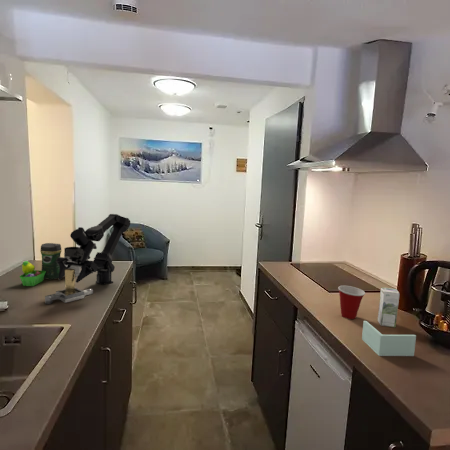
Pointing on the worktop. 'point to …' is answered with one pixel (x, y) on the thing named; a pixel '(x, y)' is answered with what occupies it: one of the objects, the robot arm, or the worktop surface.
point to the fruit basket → (31, 275)
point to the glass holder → (77, 269)
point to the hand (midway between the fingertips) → (67, 280)
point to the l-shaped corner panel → (388, 342)
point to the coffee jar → (50, 260)
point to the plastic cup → (350, 301)
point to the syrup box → (388, 307)
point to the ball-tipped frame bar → (67, 298)
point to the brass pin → (69, 281)
